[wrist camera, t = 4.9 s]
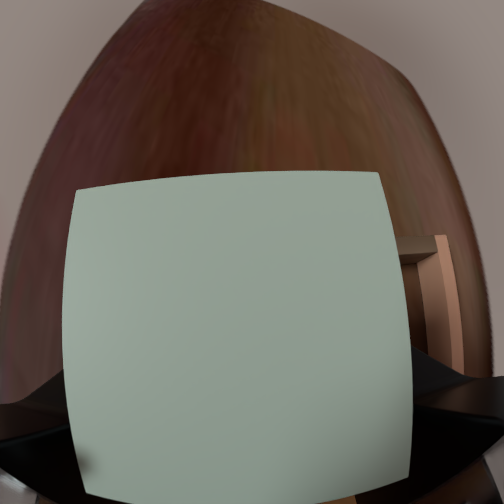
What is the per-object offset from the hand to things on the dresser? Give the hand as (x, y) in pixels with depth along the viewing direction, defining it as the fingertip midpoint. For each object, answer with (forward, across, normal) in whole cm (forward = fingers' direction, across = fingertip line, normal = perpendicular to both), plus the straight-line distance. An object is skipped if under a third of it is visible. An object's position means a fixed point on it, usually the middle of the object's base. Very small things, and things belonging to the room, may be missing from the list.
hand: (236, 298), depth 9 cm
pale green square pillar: (+4, 0, +6) cm, 7 cm away
